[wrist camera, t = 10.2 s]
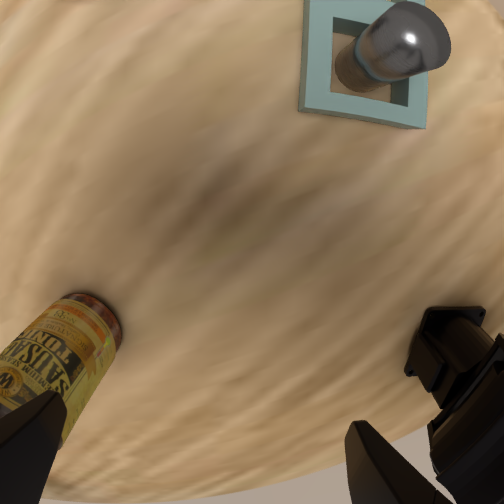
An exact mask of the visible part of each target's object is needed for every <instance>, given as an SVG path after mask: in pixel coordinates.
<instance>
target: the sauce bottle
mask: <svg viewBox="0 0 504 504" xmlns="http://www.w3.org/2000/svg"><path fill="white" fill-rule="evenodd" d="M120 343H121V330H120V326H119V323H118V322H117V319H116V318H115V316H114V315H113V313H112V312H111V311H110V310H109V309H108V308H107V307H106V306H105V305H104V304H103V303H101V302H100V301H98V300H97V299H96V298H92V297H91V296H90V295H85V294H71V295H68V296H64V297H62V298H61V299H60V300H59V301H56V302H55V303H53V304H52V305H51V306H50V307H49V308H48V309H47V310H45V311H44V312H43V313H42V314H41V315H40V316H39V317H38V318H37V319H36V320H35V321H33V322H32V323H31V324H30V325H29V326H28V327H27V328H26V329H25V330H24V331H23V332H22V333H21V334H20V335H19V336H18V337H17V338H16V339H15V340H14V341H13V342H12V343H11V344H10V345H9V346H8V347H7V348H5V349H4V350H3V352H2V353H1V354H0V418H1V417H3V416H4V415H6V414H8V413H9V412H11V411H13V410H15V409H16V408H18V407H20V406H21V405H23V404H25V403H26V402H28V401H30V400H31V399H33V398H35V397H36V396H38V395H40V394H41V393H43V392H45V391H46V390H49V389H50V390H54V391H57V392H59V393H60V394H61V396H62V398H63V400H64V403H65V405H66V408H67V418H66V421H65V425H64V428H63V432H62V436H61V439H60V443H59V447H58V450H59V449H61V447H62V446H63V444H64V443H65V441H66V439H67V437H68V435H69V434H70V432H71V430H72V428H73V426H74V425H75V423H76V421H77V420H78V418H79V416H80V414H81V413H82V411H83V409H84V408H85V406H86V404H87V403H88V401H89V399H90V398H91V396H92V394H93V393H94V391H95V390H96V388H97V386H98V385H99V383H100V381H101V380H102V378H103V377H104V375H105V373H106V372H107V370H108V369H109V367H110V365H111V364H112V362H113V360H114V358H115V354H116V352H117V350H118V349H119V346H120ZM58 450H57V451H58Z"/></svg>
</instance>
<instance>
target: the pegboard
mask: <svg viewBox="0 0 504 504" xmlns="http://www.w3.org/2000/svg"><path fill="white" fill-rule="evenodd" d="M402 1H411V2H416V3H419V4H421V5H423V6H425V0H391V2H390V1H386V0H304V14H303V37H302V57H301V75H300V91H299V106H298V111H299V112H308V113H316V114H324V115H332V116H339V117H345V118H351V119H358V120H363V121H369V122H374V123H380V124H385V125H390V126H395V127H399V128H404V129H426V117H427V97H428V71H427V72H424V73H420V74H417V75H414V76H411V77H408V78H405V79H402V80H399V81H396V82H393V83H392V89H391V103H388V102H383V101H378V100H373V99H368V98H363V97H358V96H352V95H346V94H340V93H334V92H330V83H331V62H332V34H333V32H337V33H342V34H347V35H352V36H358V35H360V34H361V33H362V32H363V31H364V30H365V29H366V28H367V27H368V26H370V25H371V24H372V23H373V22H374V21H375V20H376V19H377V18H379V17H380V16H381V15H382V14H383V13H384V12H385V11H387V10H388V9H389V8H390V7H391V6H393V5H394V4H396V3H398V2H402Z"/></svg>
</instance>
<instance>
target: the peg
mask: <svg viewBox="0 0 504 504" xmlns="http://www.w3.org/2000/svg"><path fill="white" fill-rule="evenodd" d="M450 53H451V41H450V37H449V34H448V31H447V29H446V27H445V25H444V24H443V22H442V21H441V20H440V18H439V17H438V16H437V15H436V14H435V13H434V12H432V11H431V10H430V9H428V8H427V7H425V6H423V5H421V4H419V3H416V2H411V1H402V2H398V3H396V4H394V5H393V6H391V7H390V8H389V9H388V10H387V11H385V12H384V13H383V14H382V15H381V16H380V17H379V18H377V19H376V20H375V21H374V22H373V23H372V24H371V25H370V26H368V27H367V28H366V29H365V30H364V31H363V32H362V33H361V34H360V35H358V36H357V37H356V38H355V39H354V40H353V41H352V42H351V43H350V44H349V45H348V46H347V47H345V48H344V49H343V50H342V51H341V52H340V53H339V54H338V56H337V58H336V61H335V71H336V74H337V76H338V78H339V80H340V81H341V82H342V83H343V84H344V85H345V86H346V87H347V88H349V89H351V90H353V91H357V92H368V91H371V90H373V89H376V88H379V87H382V86H385V85H387V84H390V83H393V82H396V81H399V80H402V79H405V78H408V77H411V76H414V75H417V74H420V73H424V72H427V71H430V70H433V69H437V68H439V67H441V66H443V65H444V64H445V63H446V62H447V60H448V58H449V56H450Z"/></svg>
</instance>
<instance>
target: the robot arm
mask: <svg viewBox="0 0 504 504" xmlns="http://www.w3.org/2000/svg"><path fill="white" fill-rule="evenodd" d="M432 313H433V314H432ZM485 313H486V310H485V309H484V308H483V307H444V308H429V309H428V310H427V311H426V312H425V315H424V318H423V321H422V324H421V327H420V330H419V333H418V335H417V337H416V340H415V343H414V346H413V348H412V351H411V354H410V356H409V359H408V362H407V365H406V367H405V370H404V372H405V374H406V376H408V377H411V376H418V377H419V379H420V381H421V383H422V384H423V386H424V388H425V390H426V391H427V392H428V393H430V392H431V393H432V395H433V397H434V399H435V400H436V402H437V404H438V406H439V407H440V409H443V410H442V411H441V412H440V413H439V414H438V415H437V416H436V417H435V419H434V420H431V421H430V422H429V424H428V425H427V429H428V436H429V443H430V458H431V461H432V466H433V469H434V472H435V473H436V474H437V476H436V480H437V481H438V482H439V483H441V484H442V485H443V486H444V487H445V488H446V489H447V490H448V491H449V492H450V494H451V495H452V496H453V498H454V499H455V501H456V503H457V504H504V335H503V334H501V333H499V334H498V335H497V337H496V339H495V340H496V341H494V340H493V339H492V338H491V337H490V336H489V335H488V334H487V333H486V332H485V331H484V330H483V329H482V328H481V327H480V326H481V324H482V321H483V319H484V316H485ZM431 314H432V315H431ZM430 315H431V316H430ZM410 370H411V371H410ZM66 418H67V408H66V405H65V403H64V400H63V398H62V396H61V394H60V393H59V392H57V391H54V390H50V389H49V390H46V391H45V392H43V393H41V394H40V395H38V396H36V397H35V398H33V399H31V400H30V401H28V402H26V403H25V404H23V405H21V406H20V407H18V408H16V409H15V410H13V411H11V412H9V413H8V414H6V415H4V416H3V417H1V418H0V504H39V501H40V498H41V495H42V492H43V489H44V486H45V483H46V481H47V478H48V475H49V472H50V470H51V467H52V464H53V462H54V459H55V456H56V453H57V450H58V447H59V443H60V439H61V436H62V432H63V428H64V425H65V421H66ZM345 454H346V465H347V477H348V486H349V491H350V496H351V500H352V504H453V503H452V502H451V501H450V500H448V499H447V498H446V497H445V496H444V495H443V494H442V493H441V492H439V491H438V490H436V488H435V487H434V486H433V485H432V484H431V483H430V482H429V481H428V480H427V479H426V478H425V477H424V476H422V475H421V474H420V473H419V472H418V471H417V470H416V469H415V468H414V467H413V466H412V465H411V464H410V463H409V462H408V461H407V460H406V459H405V458H404V457H403V456H402V455H401V454H400V453H399V452H398V451H397V450H395V449H394V448H393V447H392V446H391V445H390V444H389V443H388V442H387V441H386V440H385V439H384V438H383V437H382V436H381V435H380V434H379V433H378V432H377V431H376V430H375V429H374V428H373V427H372V426H371V425H370V424H369V423H368V422H367V421H365V420H358V421H353V422H352V423H351V425H350V427H349V429H348V432H347V434H346V436H345Z"/></svg>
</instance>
